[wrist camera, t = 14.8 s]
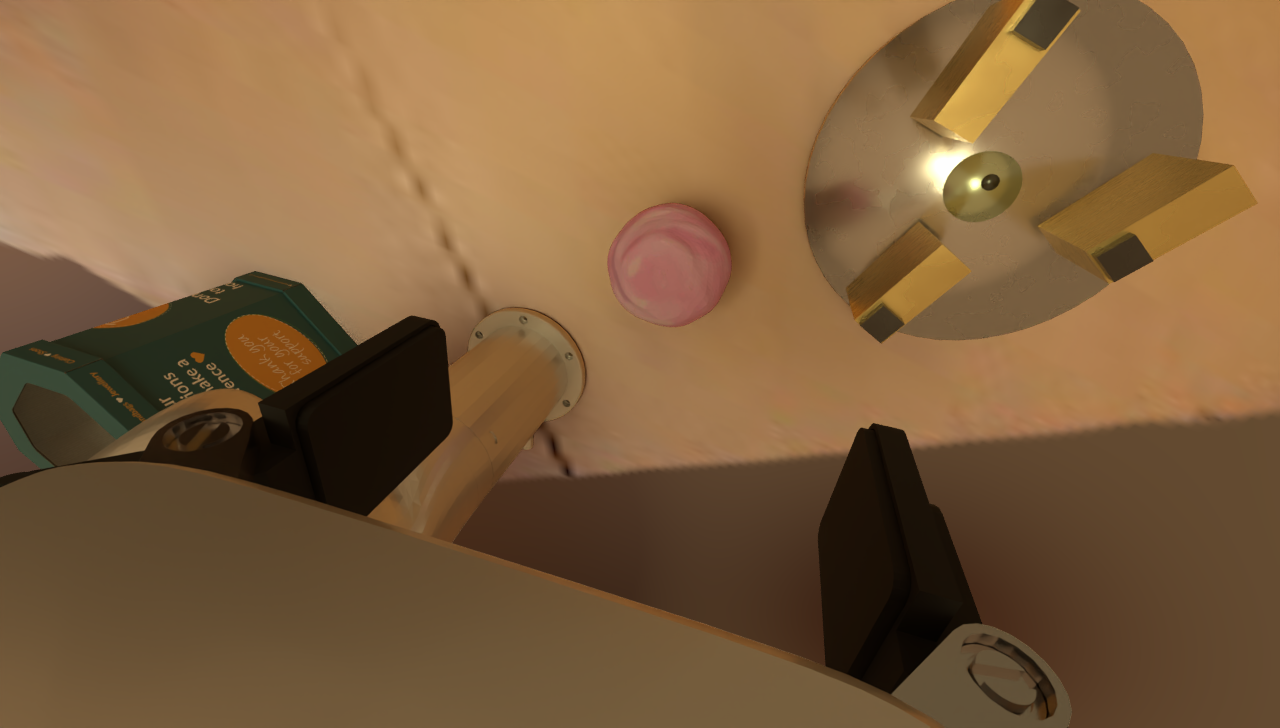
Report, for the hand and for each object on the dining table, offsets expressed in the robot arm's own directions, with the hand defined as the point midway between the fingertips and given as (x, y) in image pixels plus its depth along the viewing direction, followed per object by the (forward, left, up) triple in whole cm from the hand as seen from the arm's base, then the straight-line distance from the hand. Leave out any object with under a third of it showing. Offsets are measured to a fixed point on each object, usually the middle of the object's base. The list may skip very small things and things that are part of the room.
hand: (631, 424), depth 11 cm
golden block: (-3, -11, -30) cm, 32 cm away
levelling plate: (+3, -15, -32) cm, 36 cm away
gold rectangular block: (+9, -11, -30) cm, 33 cm away
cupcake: (-5, +4, -32) cm, 33 cm away
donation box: (-25, +48, -33) cm, 63 cm away
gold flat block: (+3, -22, -30) cm, 37 cm away
